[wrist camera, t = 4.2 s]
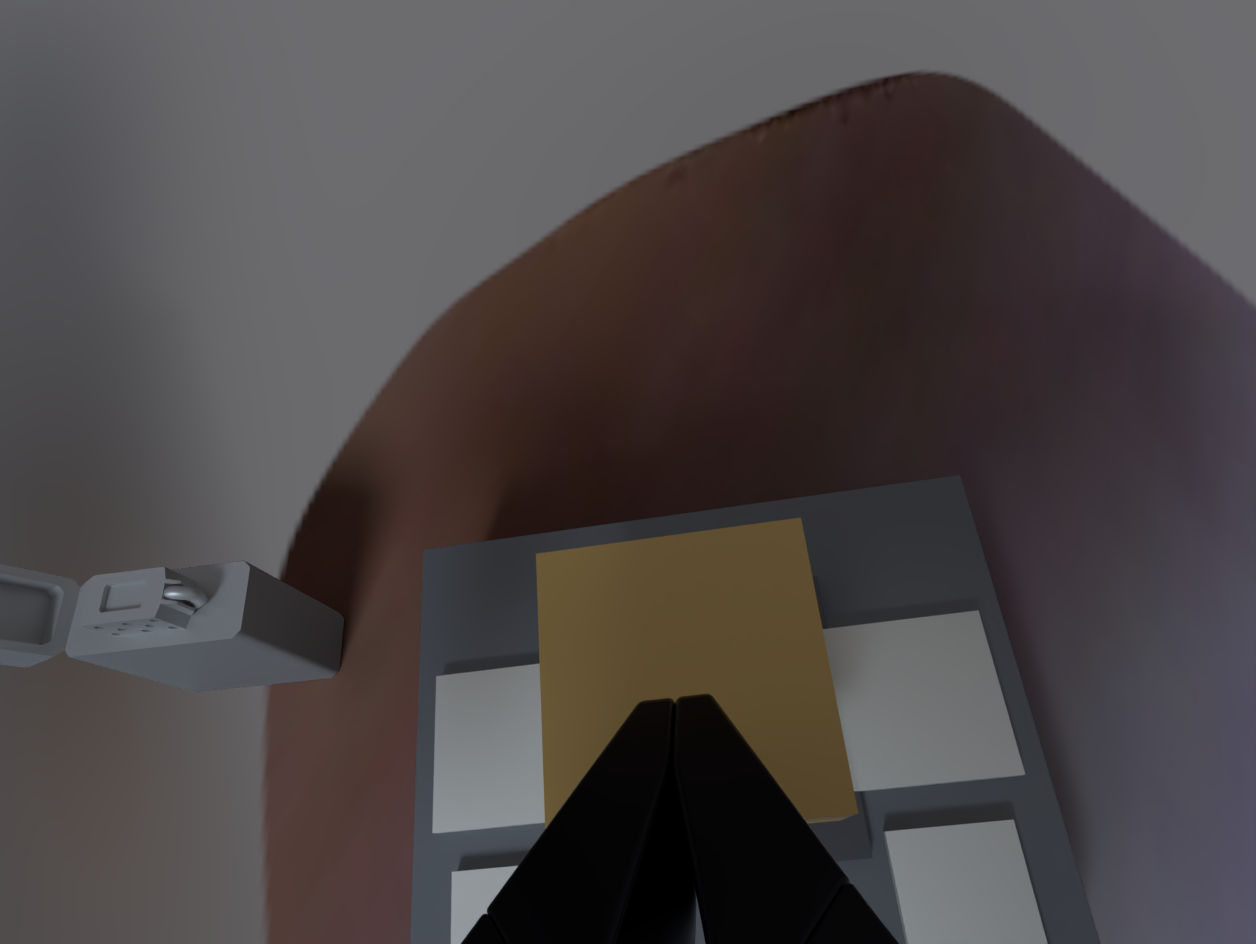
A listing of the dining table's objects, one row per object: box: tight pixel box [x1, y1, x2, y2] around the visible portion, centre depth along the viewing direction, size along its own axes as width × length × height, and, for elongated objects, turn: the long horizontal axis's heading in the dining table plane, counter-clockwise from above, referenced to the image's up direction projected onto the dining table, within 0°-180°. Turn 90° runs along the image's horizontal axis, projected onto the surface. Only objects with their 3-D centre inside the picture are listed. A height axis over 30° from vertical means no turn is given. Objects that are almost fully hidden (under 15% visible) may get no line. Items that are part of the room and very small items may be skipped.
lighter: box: [0, 561, 344, 692], centre depth 18 cm, size 7×2×8 cm, turn 94°
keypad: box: [410, 475, 1100, 944], centre depth 17 cm, size 10×12×3 cm
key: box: [536, 518, 858, 829], centre depth 12 cm, size 4×4×3 cm
